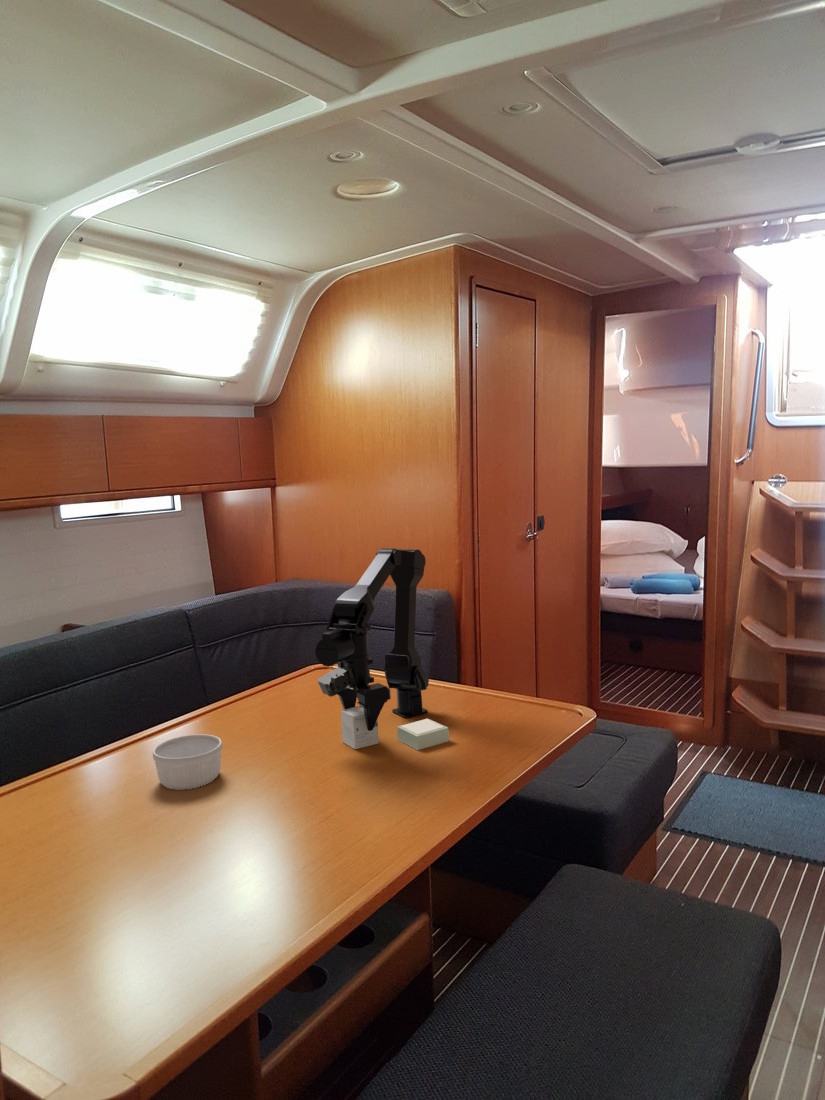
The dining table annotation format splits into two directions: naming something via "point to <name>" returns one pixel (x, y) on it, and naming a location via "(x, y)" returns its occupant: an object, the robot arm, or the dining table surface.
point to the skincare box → (357, 729)
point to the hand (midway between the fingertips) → (360, 724)
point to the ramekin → (188, 761)
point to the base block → (423, 734)
